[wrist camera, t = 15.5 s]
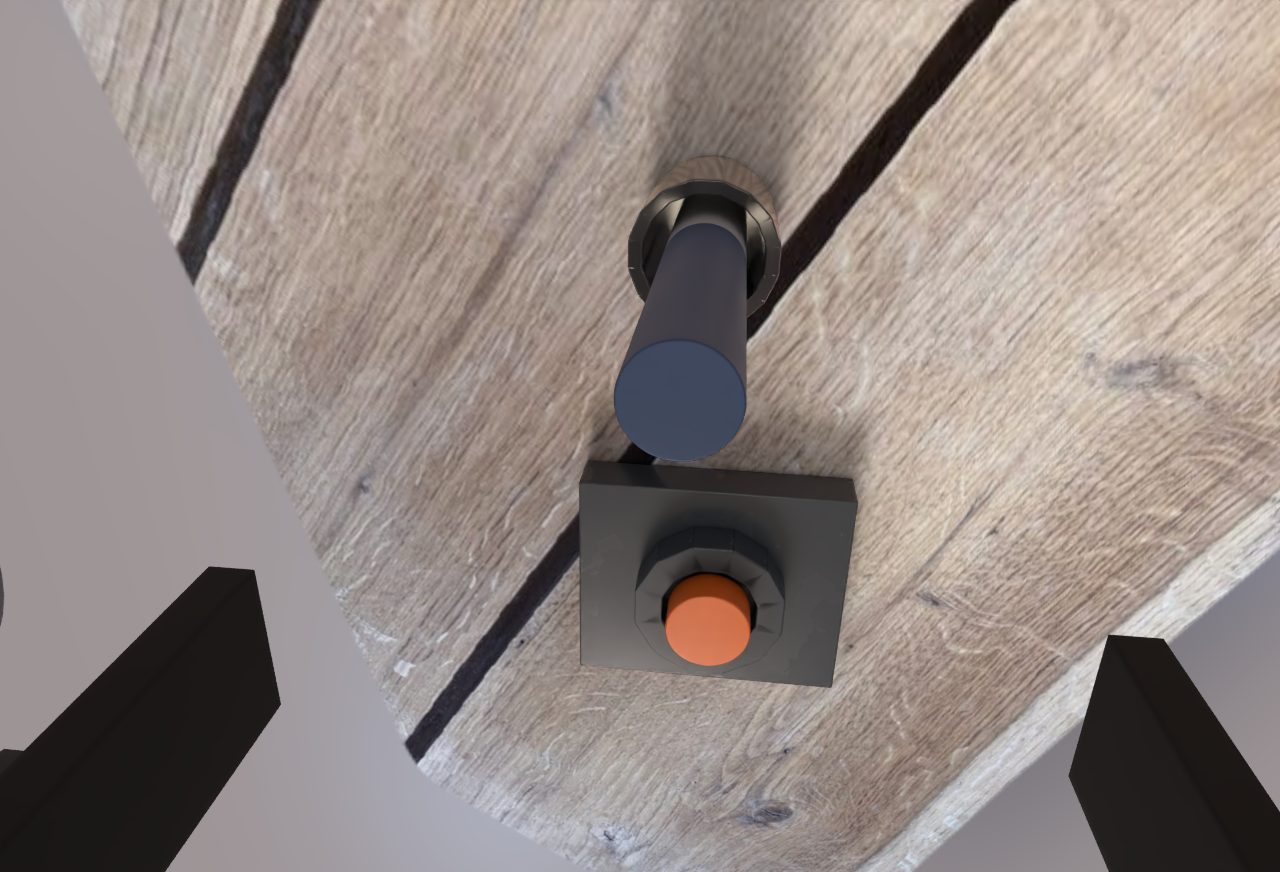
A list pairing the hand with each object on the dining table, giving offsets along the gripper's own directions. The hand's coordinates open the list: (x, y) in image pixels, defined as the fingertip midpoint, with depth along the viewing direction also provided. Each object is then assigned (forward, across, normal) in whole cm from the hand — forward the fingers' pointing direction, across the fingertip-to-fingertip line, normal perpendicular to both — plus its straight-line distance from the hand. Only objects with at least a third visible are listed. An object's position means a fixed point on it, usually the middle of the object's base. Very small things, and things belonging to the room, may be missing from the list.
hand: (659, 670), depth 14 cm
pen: (+24, 0, +2) cm, 24 cm away
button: (+22, +1, -14) cm, 26 cm away
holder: (+25, 0, +2) cm, 25 cm away
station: (+25, 0, -14) cm, 29 cm away
